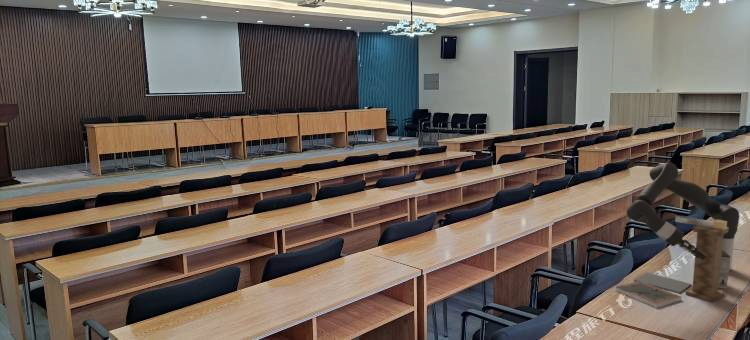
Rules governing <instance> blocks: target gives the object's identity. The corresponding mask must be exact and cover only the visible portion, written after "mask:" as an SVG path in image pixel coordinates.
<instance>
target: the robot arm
mask: <svg viewBox="0 0 750 340" xmlns="http://www.w3.org/2000/svg"><path fill="white" fill-rule="evenodd" d="M678 177H679V169H678V167H677V166H676V165H675V164H674V163H672V162H665V163H662V164H659V165H656V166H654V167H652V168H651V169H650V170H649V178H650V179H651V180H652V182H650V183H648V184H647V185H646V186H645V187H644V188H642V190H641V192H640V193H639V194H638V195H637V197H636V198H635V200H633V202H632V203H631V204H630V205H629V207H627V209H626V216H627V217H628V218H629V219H630V220H632V221H638V220H640V219H642V218H643V217H645V218H646V222H645V227H647V228H648V229H649V230H651V231H652V232H654V233H655V235H657V236H658V237H659V238H660V239H662V240H664V241H665V242H666V243H668V245H670V246H672V247H675V246H677V245H678V246H679V248H680V249H682V250H683V251H686V252H687V253H690V255H693V257H694V258H695V257H696V258H700V259H702V260H704V259H705V258H706V256H705V255H704V254H702V253H701V252H700V251H699V250H698V249H697V248H696V245H694V244H692V243H691V242H690V241H688V240H687V239H683V238H684V236H685V233H684V232H682V231H681V230H680V229H678V228H677V227H676V226H675V225H673V223H670V222H668V221H667V220H665V219H664V218H663V217H661V216H660V215H658V214H657V212H656V210H654V209H653V208H652V205H653V204H654V203H655V201H656V200H657V199H658V197H659V196H660V194H661V193H662V192H663V191H665V189H666V190H668V191H669V192H672V193H674V194H675V195H677V196H679V197H680V198H682V199H683V200H684V201H686V202H688V203H689V204H691V205H692V206H694V207H696V208H698V209H700V210H702V211H703V212H704V213H706V214H707V215H708V216H709V217H711V218H712V220H714V221H715V220H723V221H727V227H729V230H728V232H727V233H726V234H724V235H723V245H722V250H724V251H725V252H726V253H727V254H728V255H729V256H730V264H729V272H730V271H732V265H733V257H734V256H733V255H734V246H735V236H736V233H737V232H738V227H739V221H740V212H739V210H738V208H736V207H733V206H730V205H727V204H723V203H721V202H718V201H717V200H715V199H713V198H712V197H711V196H710V195H709V193H708V192H707V191H706V190H705V189H704V188H702V187H701V186H700V185H698V184H696V183H694V182H690V181H686V180H680V179H677V178H678Z"/></svg>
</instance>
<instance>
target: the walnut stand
mask: <svg viewBox="0 0 750 340" xmlns="http://www.w3.org/2000/svg"><path fill="white" fill-rule="evenodd" d="M728 230H729V227H727V228H726V229H725V230H724V231H722V230H716V229H713V228H708V227H702V226H697V225H693V227H692V232H694V233H697V234H696V243H695V248H697V249H698V250H699V251H700V252H701V253H702V254H704V255H705V256H706V258H705V259H704V260H702V259H700V258H696V257H695V256H694V265H693V266H694V267H693V278H692V285H691V286H690V287H688V288H687V289H686V290H685V295H686V296H690V297H695V298H698V299H701V300H704V301H709V302H713V303H716V302H717V301H719V299H720V298H721V297H723V296H724V295H725V291H724V290H721V289H719V288H718V285H719V275H720V265H721V255H722V245H723V235H724V234H726V233H727V232H728Z"/></svg>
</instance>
